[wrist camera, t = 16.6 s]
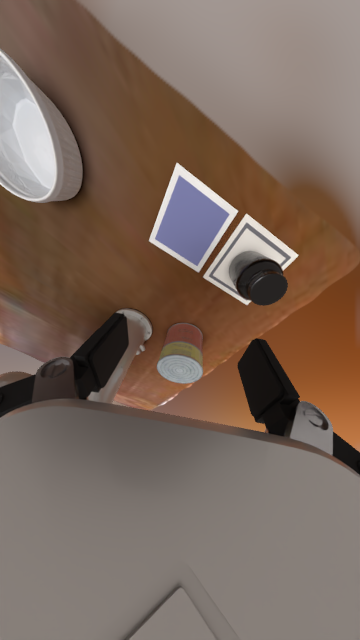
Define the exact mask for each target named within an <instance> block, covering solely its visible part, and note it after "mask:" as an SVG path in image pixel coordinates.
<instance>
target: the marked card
mask: <svg viewBox="0 0 360 640" xmlns="http://www.w3.org/2000/svg"><path fill="white" fill-rule="evenodd" d="M245 251H255V252H258V253H260V254H262V255H264V256H266V257H268V258H270V259H272V260H274V261H276V262H277V263H279V265H280V266H281V267H282V270H284V269H285V268H286V267H287V266H288V265H289V264H290V263H291V262H293V261H294V260H295V259H296V258H297V257H298V256H299V255H298V254H296V253H295V252H294V251H293V250H291V249H290V248H289V247H288V246H286V245H285V244H284V243H283V242H281V241H280V240H279V239H278V238H276V237H275V236H274V235H273V234H271V233H270V232H269V231H268V230H266V229H265V228H264V227H263V226H261V225H260V224H259V223H258V222H256V221H255V220H254V219H253V218H251V217H250V216H249V215H248V214H245V216H244V217H243V219H242V220H241V222H240V223H239V225H238V226H237V228H236V229H235V231H234V232H233V233H232V235H231V236H230V238H229V239H228V241H227V242H226V244H225V245H224V247H223V248H222V250H221V251H220V252H219V254H218V255H217V257H216V258H215V260H214V261H213V263H212V264H211V266H210V267H209V269H208V270H207V272H206V273H205V274H204V276H203V278H205V279H206V280H208V281H209V282H211V283H213V284H214V285H216V286H217V287H219V288H221V289H222V290H224V291H225V292H227V293H228V294H230V295H232V296H233V297H235V298H236V299H238V300H240V301H241V302H243V303H244V304H246V305H248V304H249V303H250V302H251V300H247V299H245V298H243V297H242V296H241V295H240V294H239V293H238V291H237V290H236V288H235V286H234V284H233V282H232V281H231V279H230V277H229V266H230V264H231V262H232V260H233V259H234V258H235V257H236V256H237V255H239V254H240V253H242V252H245Z"/></svg>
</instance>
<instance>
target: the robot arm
mask: <svg viewBox="0 0 360 640" xmlns="http://www.w3.org/2000/svg"><path fill="white" fill-rule="evenodd" d="M152 329H153V328H152V324H151V322H150V321H149V319H148V318H147V317H146V316H145V315H144V314H142V313H141V312H139V311H137V310H134V309H128V308H125V309H121V310H118V311H117V312H116V313H114V314H113V315H112V316H111V317H110V318H109V319H108V320H107V321H106V322H105V323H104V324H103V325H102V326H101V327H100V328H99V329H98V330H97V331H96V332H95V333H94V334H93V335H92V336H91V337H90V338H89V339H88V340H87V341H86V342H85V343H84V344H83V345H82V346H81V347H80V348H79V349H78V350H77V351H76V352H75V353H74V354H73V355H72V356H71V357H70V358H68V357H58V358H54V359H52V360H49V361H48V362H46V363H44V364H43V365H42V366H41V367H40V368H39V369H38V370H37V373H36V375H31V374H28V373H24V372H8V373H4V374H1V375H0V640H360V452H358V451H357V450H356V449H355V448H353V447H352V446H351V445H349V444H348V443H347V442H346V441H344V440H343V439H342V438H341V437H339V436H338V435H337V434H336V433H334V432H333V428H332V424H331V422H330V420H329V419H328V418H327V416H326V415H325V414H324V413H323V412H322V411H321V410H320V409H318V408H317V407H316V406H315V405H313V404H311V403H308V402H306V401H301V402H300V401H299V399H298V398H299V397H300V396H299V395H298V393H297V391H296V390H295V388H294V386H293V385H292V383H291V381H290V380H289V378H288V376H287V375H286V373H285V372H284V370H283V368H282V366H281V365H280V363H279V361H278V360H277V358H276V357H275V355H274V353H273V352H272V350H271V348H270V347H269V345H268V344H267V342H266V341H265V340H263V339H257V338H256V339H255V340H252V341H251V343H250V345H249V346H248V348H247V350H246V351H245V353H244V354H243V356H242V358H241V359H240V361H239V362H238V370H239V373H240V377H241V380H242V384H243V387H244V390H245V394H246V397H247V401H248V404H249V408H250V411H251V414H252V416H254V418H255V421H256V422H257V423H263V424H264V423H265V426H266V430H265V433H264V432H259V431H254V430H248V429H244V428H239V427H233V426H228V425H223V424H218V423H213V422H207V421H201V420H196V419H191V418H186V417H180V416H175V415H170V414H164V413H159V412H153V411H148V410H142V409H137V408H131V407H126V406H120V405H114V404H112V402H113V400H114V398H115V395H116V393H117V391H118V389H119V387H120V385H121V383H122V381H123V379H124V377H125V375H126V373H127V371H128V369H129V367H130V365H131V363H132V361H133V359H134V357H135V355H138V354H140V353H141V350H142V351H144V350H145V347H144V345H143V343H144V341H146V340H147V339H149V338H150V336H151V334H152ZM139 347H140V349H141V350H140V349H139Z"/></svg>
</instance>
